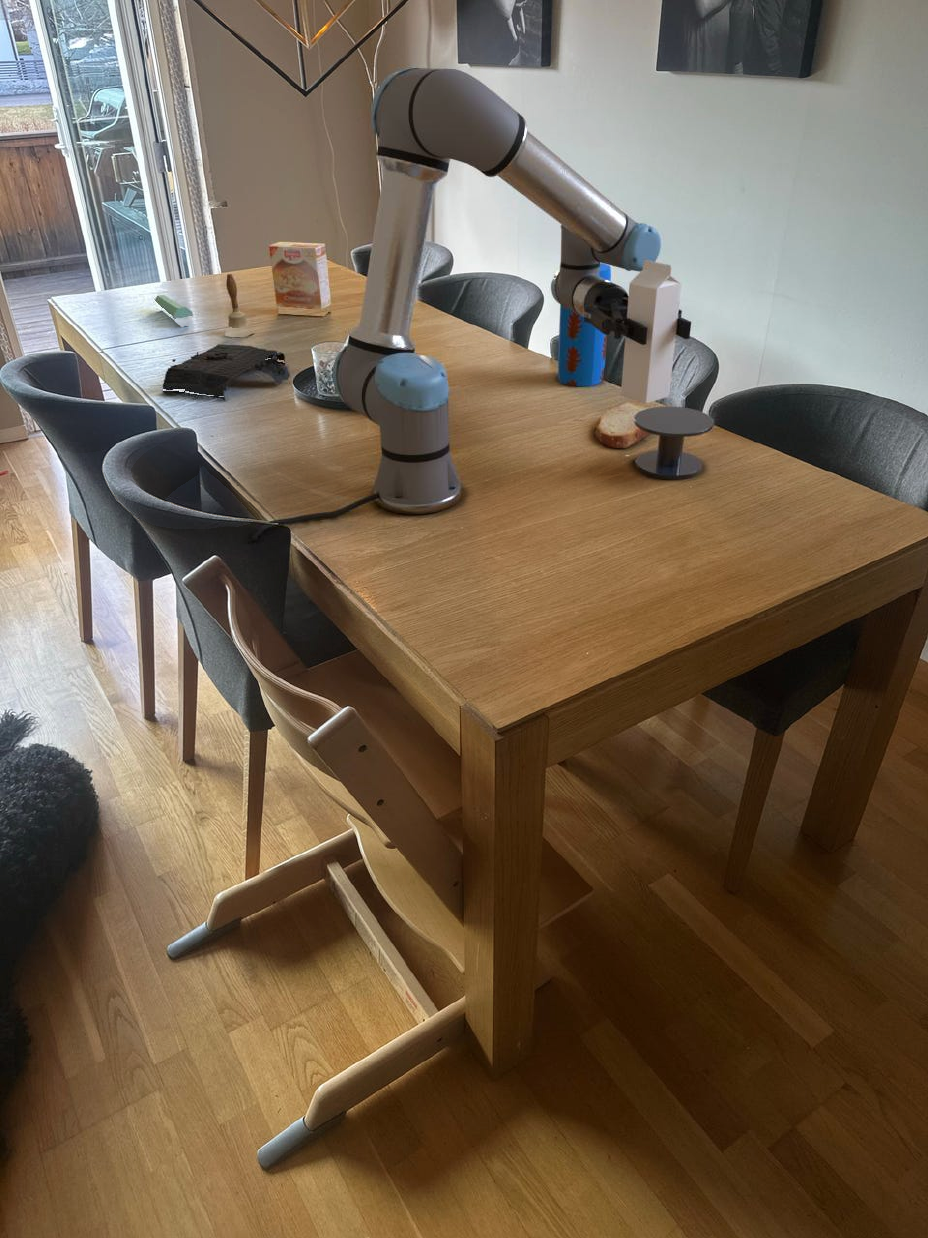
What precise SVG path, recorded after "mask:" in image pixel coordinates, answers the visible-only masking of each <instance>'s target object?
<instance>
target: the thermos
mask: <svg viewBox="0 0 928 1238" xmlns="http://www.w3.org/2000/svg"><path fill="white" fill-rule="evenodd" d="M611 268H612V267H611V265H608V264H604V263H600V269H599V277H600V278H603V279H605V280H608V281H610V282H612V281H611V280H612V269H611ZM583 320H584V317H583V316H581V315H579V314H577V313H575V312H573V311H570V310H567V309H565V308H564V307H562V306H561V305H560V304H559V323H558V324H559V325H558V326H559V327H558V352H557V353H558V354H557V378H558V379H557V380H558V382H560V383H561V384H564V385H567V386H572V387H592V386H596V385H599V384H601V383H602V382H603V381H604V376H605V368H606V367H605V366H606V353H607V341H608V340H607V339H608V335H605V334H603V333H602V332H600V331H599V330H598V329H597V328H595V327H594V326H593V325H591V324H590V323H587V322H584V321H583Z"/></svg>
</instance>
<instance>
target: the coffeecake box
mask: <svg viewBox="0 0 928 1238" xmlns="http://www.w3.org/2000/svg"><path fill="white" fill-rule="evenodd" d="M268 248H269V249H268V250H269V257H270V264H271V265H270V266H271V272H272V273H271V274H272V281H273V288H274V295H275V303H276V307H277V306H280V307H293V308H306V309H323V308H325V307H327V306H329V305H330V304H331V305H332V303H331V302H332V301H331V291H330V290H331V289H330V281H329V270H328V261H327V260H328V259H327V250H326V243H319V242H317V243H316V242H296V241H295V242H293V241H292V242H291V241H277V242H275V243H272V244H269V245H268Z"/></svg>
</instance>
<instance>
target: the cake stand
mask: <svg viewBox="0 0 928 1238" xmlns="http://www.w3.org/2000/svg"><path fill="white" fill-rule="evenodd" d="M648 408H649V409H645V410H642V411H640V412H638V413H637V414H636V415H635V417H634V423H635V425H636V426H637V427H638V428H640V429H641V430H643V431H646V432H648V433H650V434H651V435H657V436H658V445H657V449H655V450H649V451H646V452H643V453H641V454H639V455H638V456H637V457H636V458H635V464H634V465H635V468H636V469H637V470H638V471H639V472H640V473H642V474H643V475H645V476H649V477H652V478H655V479H661V480H673V481H675V480H684V479H685V480H687V479H689V478H694V477H695V476H697V475H698V474H700V473H701V472H702V469H703V468H702V467H703V463H702V461H701V459H699V458H698V457H696V456H695V455H693V454H691V453H688V452H683V449H684V441H685V438H688V437H690V438H691V437H696V436H700V435H704V434H707V433H708V432H710V431H711V430H712V429H713V428H714V423H715V422H714V419H713V418H712V417H711V416H710V415H709V414H708V413H705V412H703V411H700V410H697V409H693V408H688V407H684V406H683V407H682V406H668V405H667V406H663V407H661V406H654V407H648Z"/></svg>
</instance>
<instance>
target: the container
mask: <svg viewBox="0 0 928 1238" xmlns="http://www.w3.org/2000/svg"><path fill="white" fill-rule="evenodd" d="M154 300H155V301H156V302H157V303H158V304H159V305H160V306H161V307H162V308H164V309H165V310H166V311H167V312H168V313H169V314H171V315H172V316H173V318H174V319H176V318H183V317H188V316H193V317H194V314H193V311H192V310H190V309H189V308H188V307H186V306H182V305H181V304H179V303H177V302H176V301H174V300H173V299H171V298H170V297H168V296H166V295H165V294H159V295H157V296H156V297H155V298H154Z"/></svg>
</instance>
